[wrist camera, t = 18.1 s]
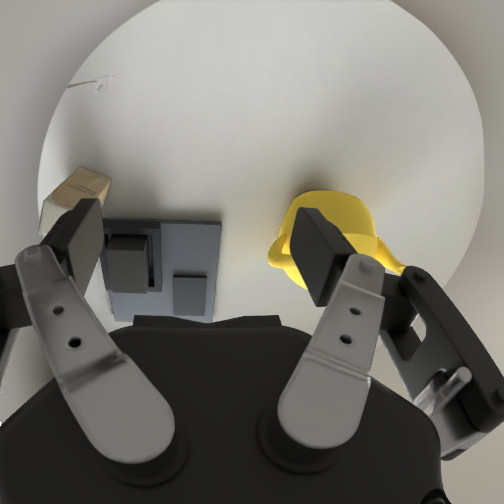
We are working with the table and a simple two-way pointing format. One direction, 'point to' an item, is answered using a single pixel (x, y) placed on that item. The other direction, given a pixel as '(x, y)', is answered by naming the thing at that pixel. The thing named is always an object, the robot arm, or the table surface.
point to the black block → (128, 263)
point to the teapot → (341, 215)
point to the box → (72, 195)
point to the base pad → (169, 269)
